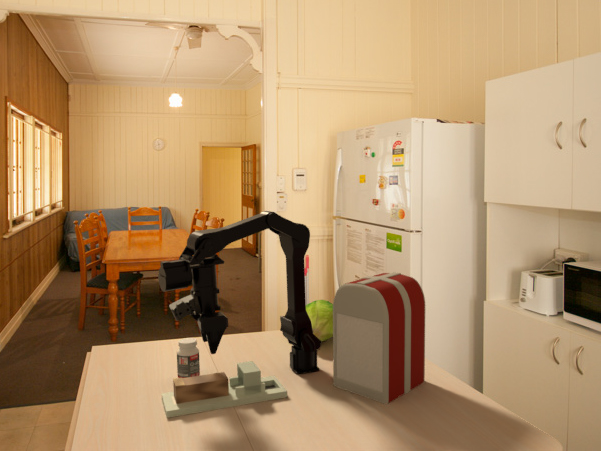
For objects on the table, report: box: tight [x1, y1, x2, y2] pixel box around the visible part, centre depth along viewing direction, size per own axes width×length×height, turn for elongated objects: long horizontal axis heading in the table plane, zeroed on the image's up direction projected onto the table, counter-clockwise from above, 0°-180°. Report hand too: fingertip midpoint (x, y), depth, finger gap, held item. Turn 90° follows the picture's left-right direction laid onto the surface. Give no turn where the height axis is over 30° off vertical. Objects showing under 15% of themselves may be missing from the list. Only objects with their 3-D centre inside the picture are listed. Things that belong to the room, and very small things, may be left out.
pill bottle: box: [176, 337, 201, 378], centre depth 139 cm, size 6×6×10 cm
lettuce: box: [306, 299, 333, 342], centre depth 166 cm, size 13×23×12 cm, turn 170°
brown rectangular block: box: [172, 371, 229, 404], centre depth 124 cm, size 12×4×4 cm, turn 110°
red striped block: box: [332, 271, 426, 405], centre depth 132 cm, size 17×18×27 cm
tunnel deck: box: [161, 360, 288, 419], centre depth 126 cm, size 28×10×7 cm, turn 110°
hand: (209, 347), depth 129 cm, fingers open, 9 cm apart
